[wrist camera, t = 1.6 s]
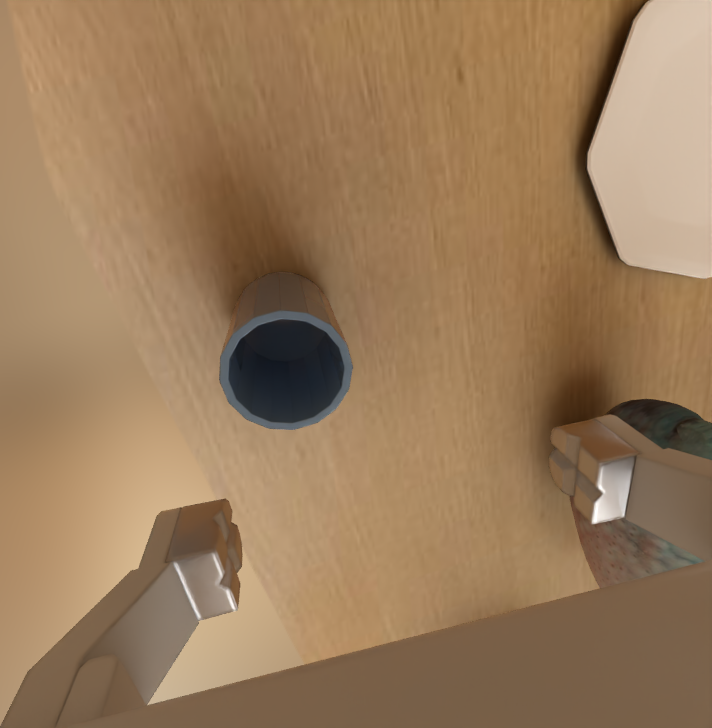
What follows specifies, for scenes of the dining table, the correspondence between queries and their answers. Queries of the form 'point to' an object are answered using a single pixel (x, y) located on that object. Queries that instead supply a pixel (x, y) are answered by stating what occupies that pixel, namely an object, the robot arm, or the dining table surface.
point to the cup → (284, 354)
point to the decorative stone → (621, 537)
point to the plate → (659, 141)
